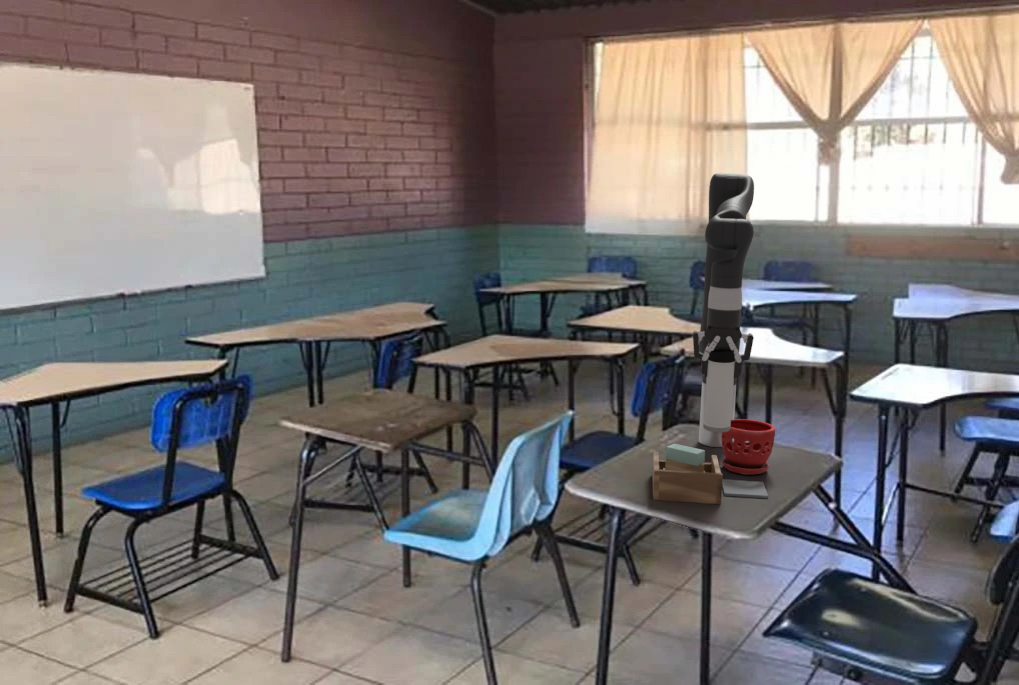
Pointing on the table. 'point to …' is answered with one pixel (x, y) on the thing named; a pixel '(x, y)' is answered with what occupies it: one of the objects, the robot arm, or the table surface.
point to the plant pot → (747, 446)
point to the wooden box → (687, 483)
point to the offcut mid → (682, 466)
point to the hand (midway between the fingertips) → (720, 376)
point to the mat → (744, 488)
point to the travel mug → (719, 390)
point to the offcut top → (685, 454)
